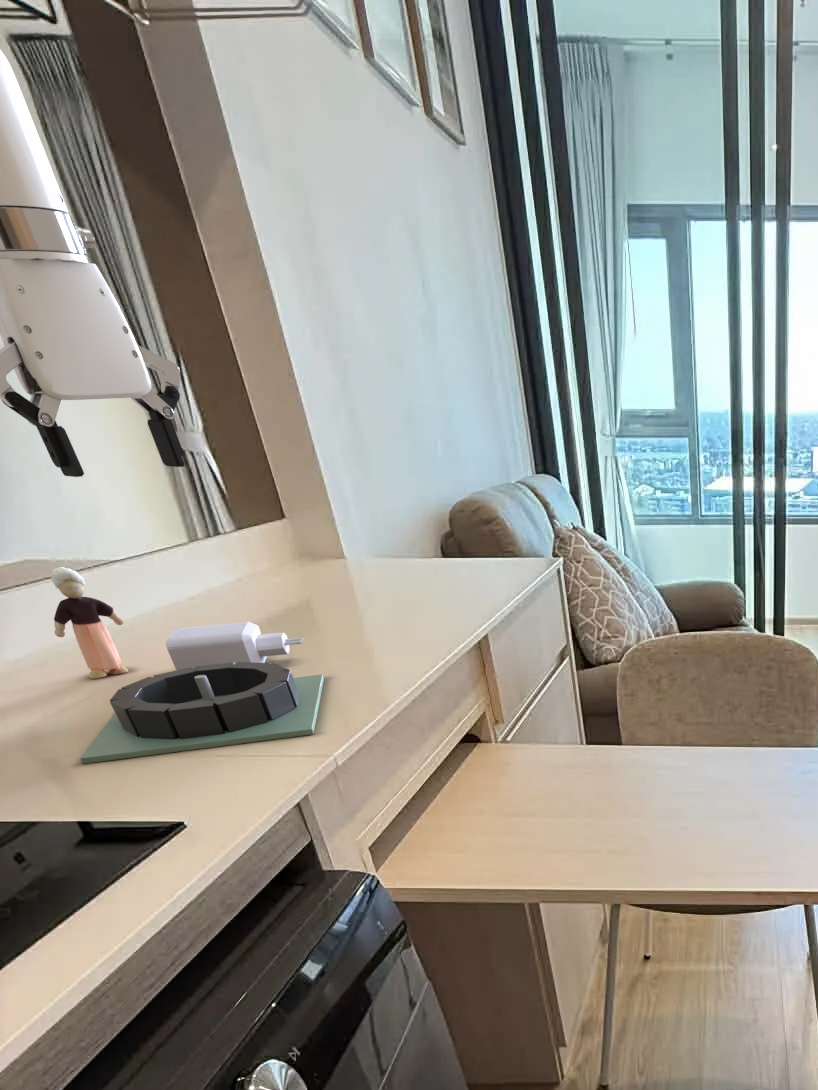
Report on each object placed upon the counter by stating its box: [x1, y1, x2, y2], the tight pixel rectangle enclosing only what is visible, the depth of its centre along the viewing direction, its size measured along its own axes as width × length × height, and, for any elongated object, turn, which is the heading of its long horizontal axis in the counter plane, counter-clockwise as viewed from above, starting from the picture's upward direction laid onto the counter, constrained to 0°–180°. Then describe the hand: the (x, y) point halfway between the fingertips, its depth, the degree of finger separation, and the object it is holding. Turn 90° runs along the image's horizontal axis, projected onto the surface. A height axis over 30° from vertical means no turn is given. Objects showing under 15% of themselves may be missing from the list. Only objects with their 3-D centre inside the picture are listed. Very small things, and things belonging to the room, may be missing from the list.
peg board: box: [79, 674, 325, 765], centre depth 96 cm, size 22×22×4 cm
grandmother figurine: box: [50, 566, 129, 680], centre depth 108 cm, size 8×4×13 cm, turn 148°
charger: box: [165, 621, 304, 671], centre depth 112 cm, size 5×9×15 cm
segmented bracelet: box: [109, 662, 300, 739], centre depth 96 cm, size 18×18×3 cm
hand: (126, 470), depth 85 cm, fingers open, 9 cm apart
